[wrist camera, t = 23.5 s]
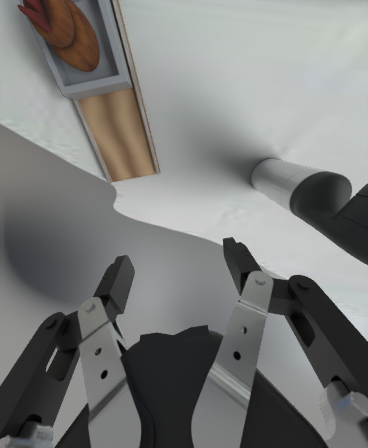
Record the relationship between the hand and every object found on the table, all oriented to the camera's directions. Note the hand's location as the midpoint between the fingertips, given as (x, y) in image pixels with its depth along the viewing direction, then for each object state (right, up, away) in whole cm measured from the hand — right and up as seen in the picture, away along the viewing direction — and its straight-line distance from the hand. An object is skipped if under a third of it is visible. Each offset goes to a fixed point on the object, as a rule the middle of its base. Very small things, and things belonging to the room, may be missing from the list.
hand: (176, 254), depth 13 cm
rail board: (-15, +29, +22) cm, 39 cm away
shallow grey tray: (-17, +35, +16) cm, 42 cm away
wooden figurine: (-16, +33, +14) cm, 40 cm away
